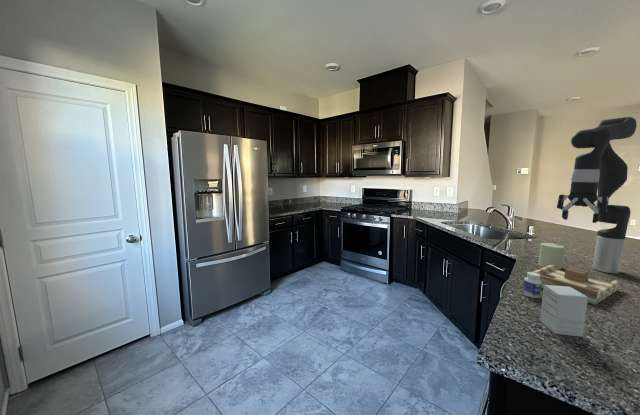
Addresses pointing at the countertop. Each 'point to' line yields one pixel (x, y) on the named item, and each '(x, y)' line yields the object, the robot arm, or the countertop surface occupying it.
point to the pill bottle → (532, 285)
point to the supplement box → (563, 310)
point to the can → (551, 255)
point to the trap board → (577, 284)
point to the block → (576, 274)
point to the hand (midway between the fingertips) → (579, 221)
